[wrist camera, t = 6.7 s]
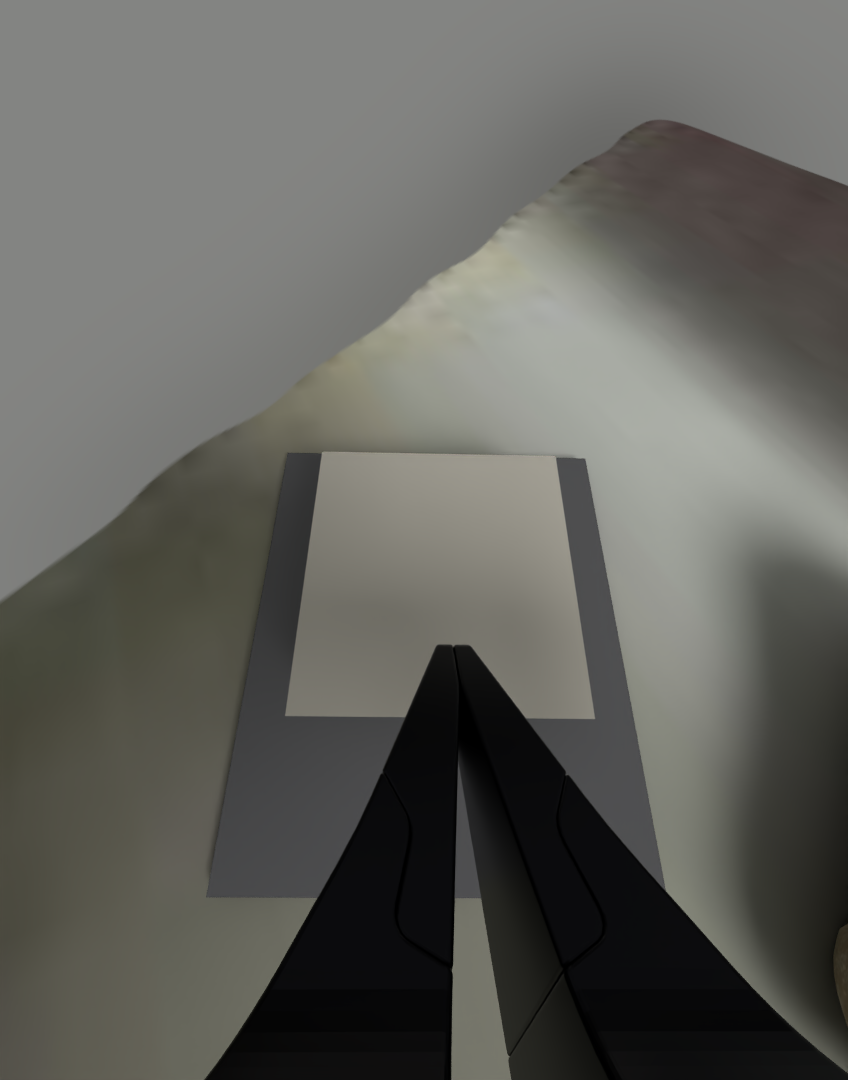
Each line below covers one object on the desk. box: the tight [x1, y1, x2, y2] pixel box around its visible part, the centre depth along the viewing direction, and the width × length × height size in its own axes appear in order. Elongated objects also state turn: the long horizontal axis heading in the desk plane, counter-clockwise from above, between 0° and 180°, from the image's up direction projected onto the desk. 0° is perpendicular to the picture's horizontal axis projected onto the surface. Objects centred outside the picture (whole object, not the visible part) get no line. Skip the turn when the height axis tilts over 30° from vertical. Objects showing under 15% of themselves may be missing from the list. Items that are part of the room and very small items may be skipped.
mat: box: [206, 453, 666, 898], centre depth 14 cm, size 18×16×1 cm
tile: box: [285, 452, 595, 719], centre depth 13 cm, size 3×10×10 cm
